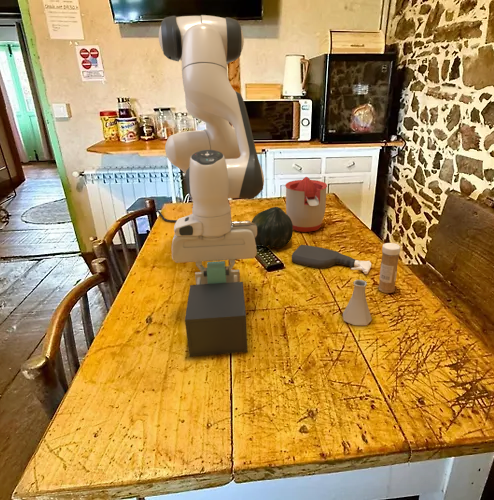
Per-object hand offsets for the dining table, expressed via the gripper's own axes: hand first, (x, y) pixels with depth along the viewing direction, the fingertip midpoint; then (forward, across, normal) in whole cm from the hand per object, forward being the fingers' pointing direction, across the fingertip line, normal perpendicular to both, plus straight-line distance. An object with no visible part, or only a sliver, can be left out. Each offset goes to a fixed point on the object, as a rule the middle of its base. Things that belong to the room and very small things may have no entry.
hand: (216, 274), depth 98 cm
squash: (+10, -18, -40) cm, 45 cm away
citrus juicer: (+10, -33, -54) cm, 64 cm away
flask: (+10, -34, +8) cm, 36 cm away
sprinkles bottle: (+10, -46, -4) cm, 48 cm away
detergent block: (+2, 0, 0) cm, 2 cm away
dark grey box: (+10, 0, +11) cm, 15 cm away
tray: (+9, 0, 0) cm, 9 cm away
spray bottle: (+10, -35, -22) cm, 43 cm away
